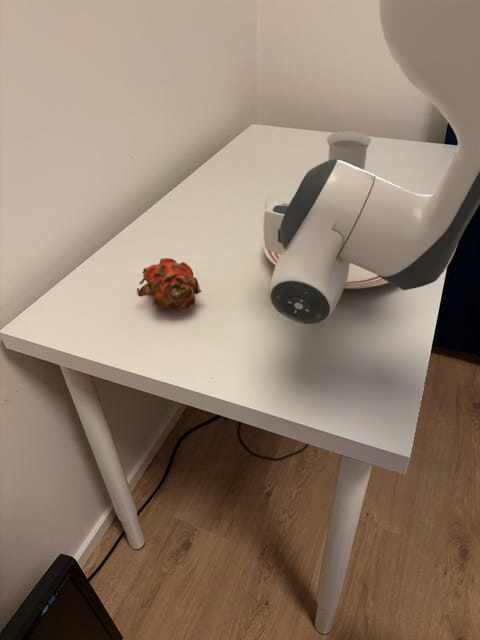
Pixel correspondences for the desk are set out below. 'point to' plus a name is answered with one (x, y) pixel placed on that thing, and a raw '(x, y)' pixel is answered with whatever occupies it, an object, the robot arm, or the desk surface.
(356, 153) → the chalice
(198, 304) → the desk surface
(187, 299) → the dragon fruit
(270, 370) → the desk surface
